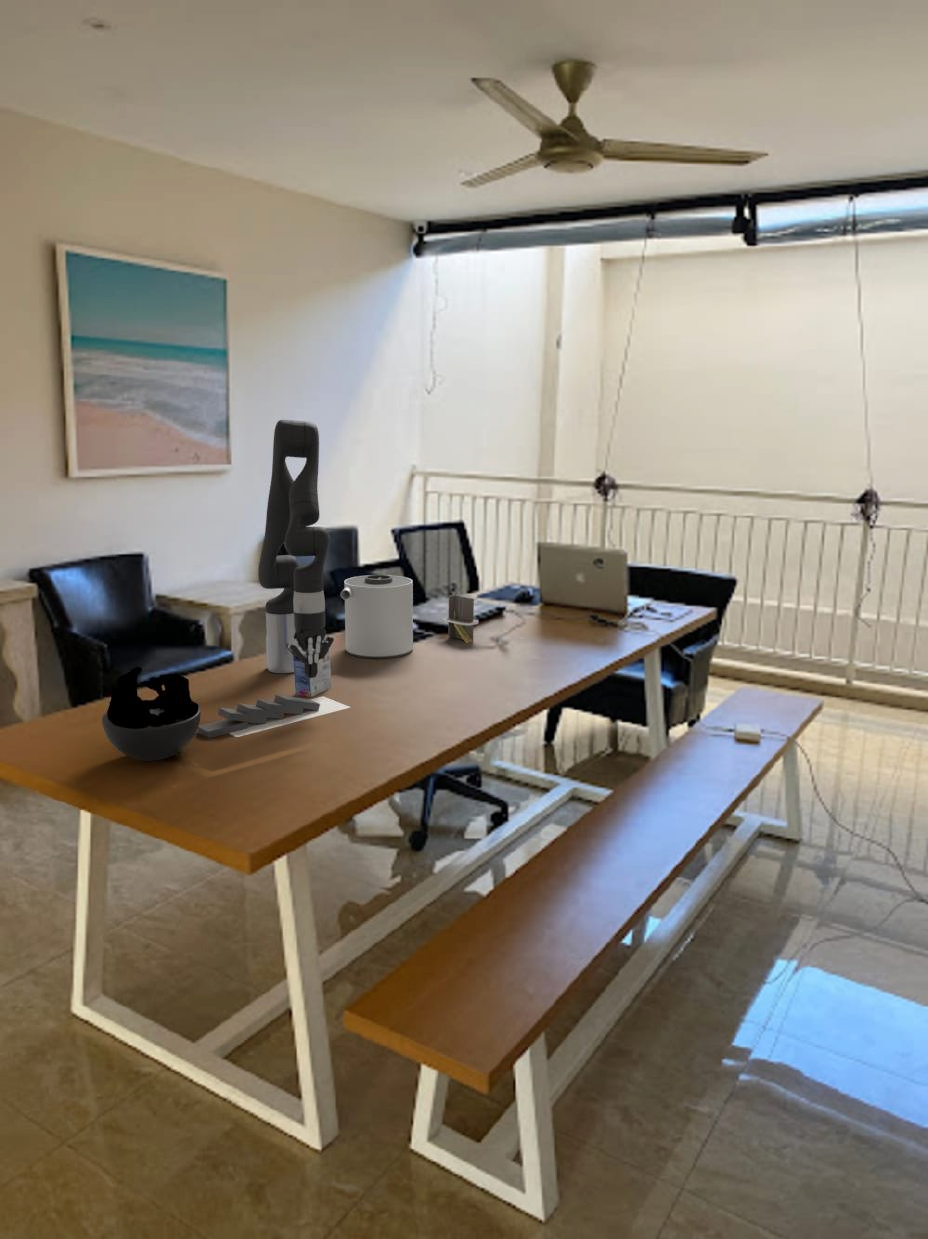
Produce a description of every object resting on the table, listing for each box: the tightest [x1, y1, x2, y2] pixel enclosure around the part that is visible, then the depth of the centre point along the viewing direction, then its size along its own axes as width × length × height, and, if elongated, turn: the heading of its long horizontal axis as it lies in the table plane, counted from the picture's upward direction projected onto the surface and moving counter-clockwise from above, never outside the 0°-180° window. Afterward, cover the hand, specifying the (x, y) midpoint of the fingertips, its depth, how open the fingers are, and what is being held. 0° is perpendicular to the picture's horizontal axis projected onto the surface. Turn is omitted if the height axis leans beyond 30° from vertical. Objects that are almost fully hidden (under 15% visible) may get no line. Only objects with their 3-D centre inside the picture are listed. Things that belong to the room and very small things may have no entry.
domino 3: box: [235, 702, 284, 719], centre depth 216 cm, size 2×5×10 cm
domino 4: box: [255, 698, 303, 714], centre depth 220 cm, size 2×5×10 cm
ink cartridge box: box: [293, 647, 332, 698], centre depth 239 cm, size 10×6×14 cm, turn 155°
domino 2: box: [217, 707, 267, 724], centre depth 213 cm, size 2×5×10 cm
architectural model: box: [443, 594, 479, 644], centre depth 298 cm, size 20×25×15 cm
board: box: [228, 695, 351, 738], centre depth 221 cm, size 12×32×1 cm, turn 133°
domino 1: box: [197, 718, 248, 739], centre depth 210 cm, size 2×5×10 cm
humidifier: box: [340, 574, 414, 660], centre depth 283 cm, size 22×21×23 cm
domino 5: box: [273, 694, 320, 710], centre depth 223 cm, size 2×5×10 cm
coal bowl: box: [101, 666, 202, 762], centre depth 194 cm, size 20×20×19 cm
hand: (311, 677), depth 225 cm, fingers closed
